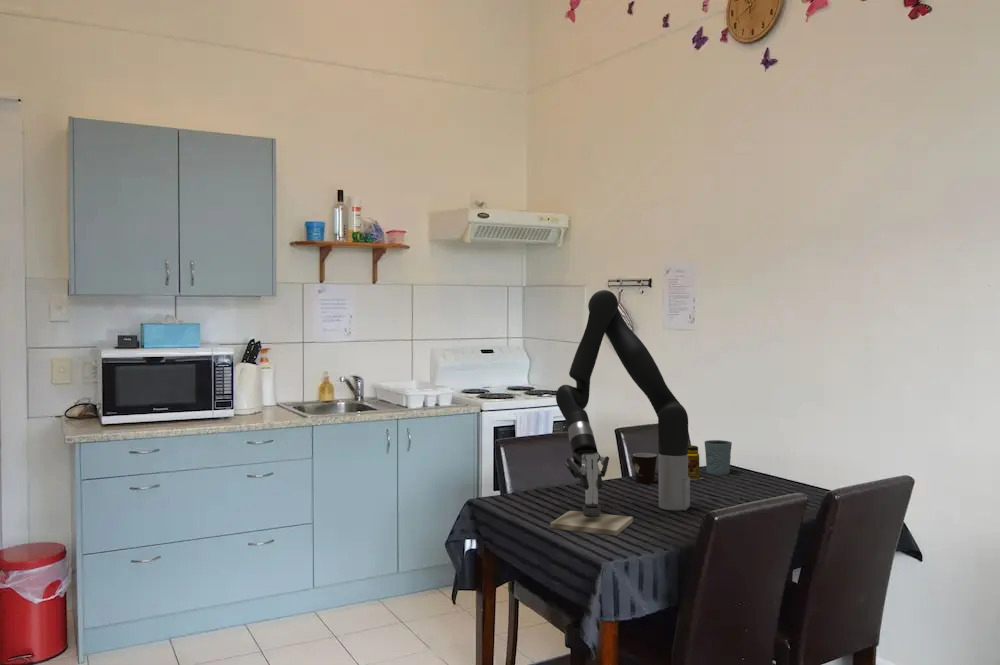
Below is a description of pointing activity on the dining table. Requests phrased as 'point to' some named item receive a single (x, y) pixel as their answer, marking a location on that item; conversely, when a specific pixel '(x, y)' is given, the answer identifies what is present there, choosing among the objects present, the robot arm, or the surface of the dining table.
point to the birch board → (592, 523)
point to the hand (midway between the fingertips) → (593, 487)
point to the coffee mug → (644, 467)
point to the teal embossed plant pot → (718, 457)
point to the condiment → (693, 463)
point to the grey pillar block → (591, 486)
